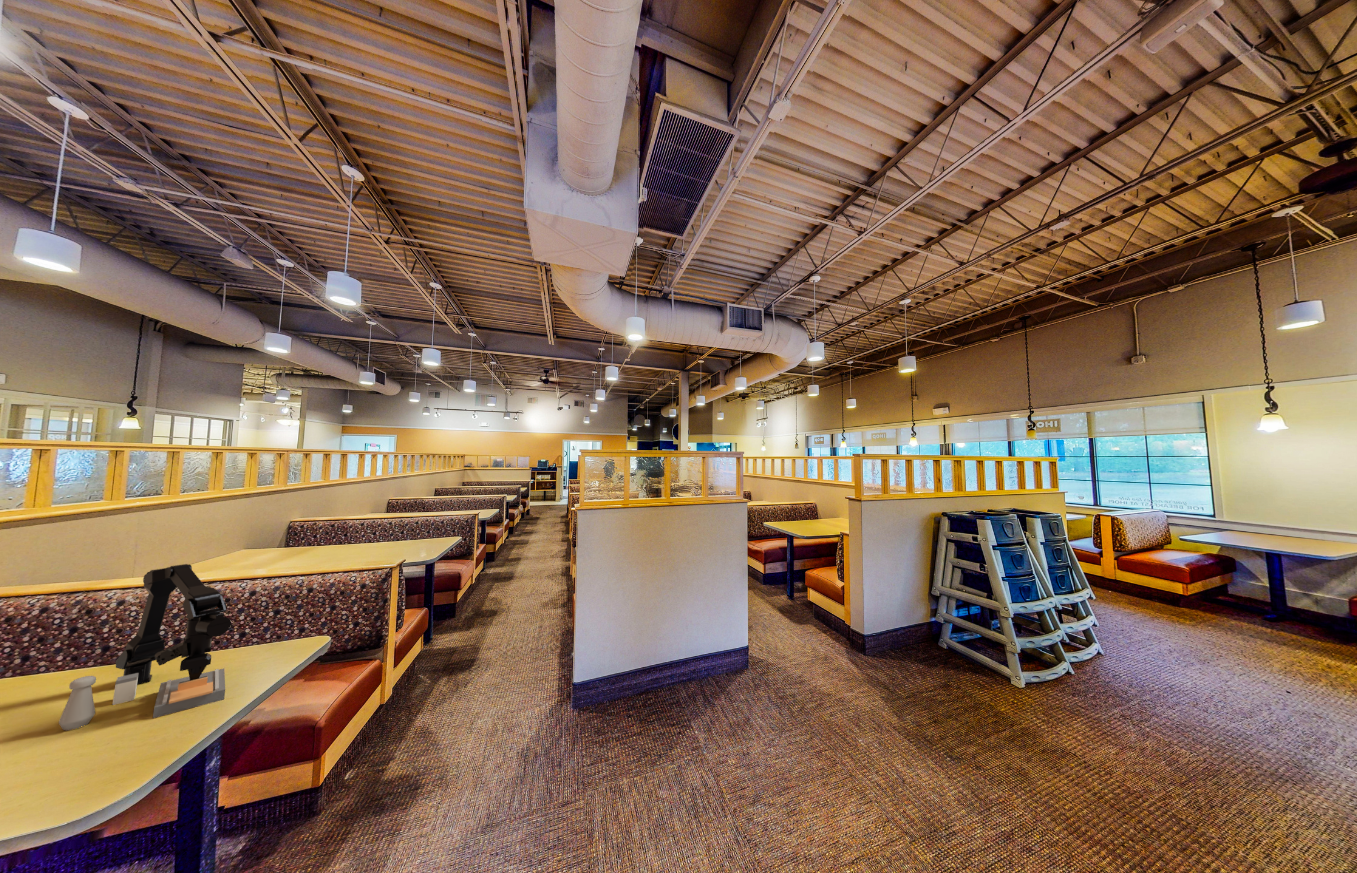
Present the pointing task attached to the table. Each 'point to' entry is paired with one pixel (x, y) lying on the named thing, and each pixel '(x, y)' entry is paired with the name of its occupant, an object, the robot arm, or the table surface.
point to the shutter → (191, 690)
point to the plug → (125, 688)
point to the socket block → (167, 687)
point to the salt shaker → (79, 704)
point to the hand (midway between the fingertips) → (193, 683)
